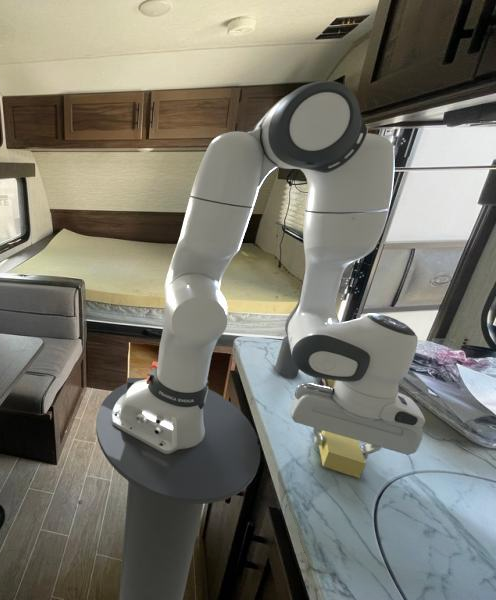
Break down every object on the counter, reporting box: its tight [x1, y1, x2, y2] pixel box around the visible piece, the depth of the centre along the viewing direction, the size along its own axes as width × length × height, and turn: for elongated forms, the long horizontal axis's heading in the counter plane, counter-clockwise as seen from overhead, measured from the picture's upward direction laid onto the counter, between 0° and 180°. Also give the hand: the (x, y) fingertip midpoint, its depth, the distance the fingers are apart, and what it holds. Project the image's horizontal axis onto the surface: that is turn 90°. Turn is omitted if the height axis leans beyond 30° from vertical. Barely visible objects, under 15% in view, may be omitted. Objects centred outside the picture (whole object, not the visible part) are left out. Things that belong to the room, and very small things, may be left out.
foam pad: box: [318, 430, 367, 479], centre depth 67 cm, size 6×9×4 cm, turn 154°
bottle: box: [274, 335, 300, 379], centre depth 92 cm, size 6×6×15 cm
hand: (339, 449), depth 67 cm, fingers closed on foam pad, 6 cm apart
